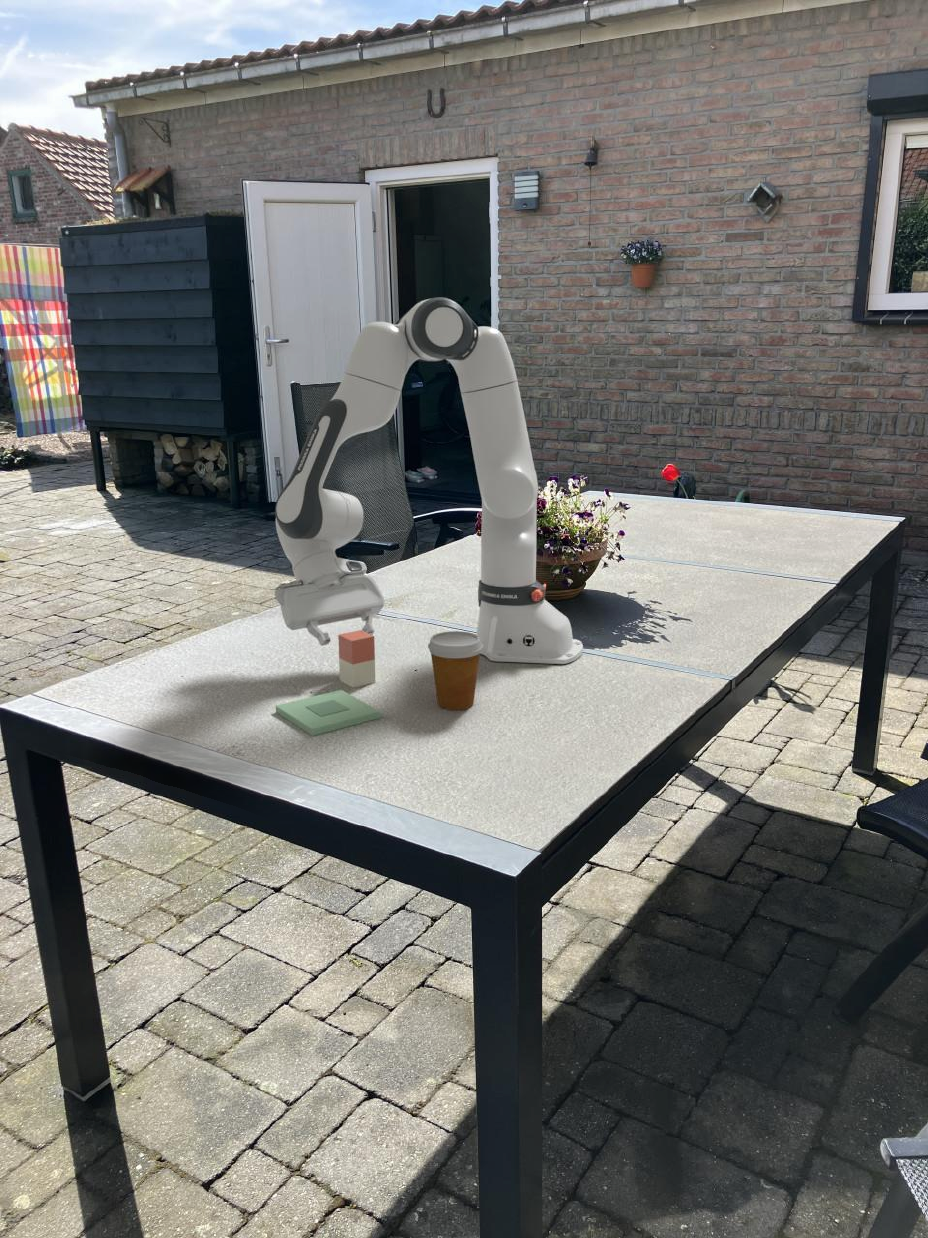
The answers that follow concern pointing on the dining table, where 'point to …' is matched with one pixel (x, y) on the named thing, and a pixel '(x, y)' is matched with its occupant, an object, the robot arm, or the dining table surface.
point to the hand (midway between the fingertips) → (348, 639)
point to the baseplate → (327, 712)
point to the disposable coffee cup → (455, 667)
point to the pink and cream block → (357, 658)
